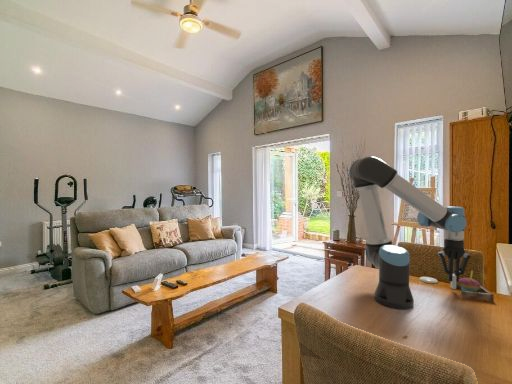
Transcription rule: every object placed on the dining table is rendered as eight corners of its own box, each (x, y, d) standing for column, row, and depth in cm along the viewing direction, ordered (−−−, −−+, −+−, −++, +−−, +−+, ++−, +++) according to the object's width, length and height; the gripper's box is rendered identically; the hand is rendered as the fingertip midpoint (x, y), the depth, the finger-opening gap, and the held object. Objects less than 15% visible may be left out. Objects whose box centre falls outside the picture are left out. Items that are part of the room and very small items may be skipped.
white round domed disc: (421, 282, 136) (421, 280, 136) (417, 277, 144) (417, 276, 144) (439, 284, 134) (439, 282, 134) (434, 279, 141) (434, 277, 141)
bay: (462, 298, 117) (462, 291, 117) (450, 286, 131) (450, 280, 131) (493, 301, 114) (493, 294, 113) (477, 289, 127) (477, 283, 127)
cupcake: (485, 297, 118) (486, 271, 118) (466, 297, 118) (466, 270, 118) (470, 289, 126) (470, 265, 126) (452, 289, 127) (453, 265, 127)
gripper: (440, 239, 122) (440, 289, 123) (474, 241, 118) (473, 292, 119) (435, 236, 130) (434, 283, 130) (466, 238, 125) (466, 286, 126)
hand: (453, 288), depth 124 cm, fingers closed
